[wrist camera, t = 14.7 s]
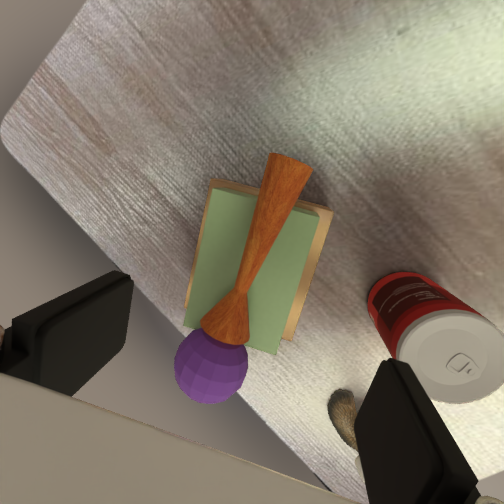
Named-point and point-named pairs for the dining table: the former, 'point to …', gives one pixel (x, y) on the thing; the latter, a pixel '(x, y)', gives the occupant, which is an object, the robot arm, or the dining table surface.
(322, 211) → the maple block
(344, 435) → the eagle figurine
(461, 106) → the dining table surface
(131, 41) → the dining table surface
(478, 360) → the canned food
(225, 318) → the purple wooden maraca
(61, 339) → the robot arm
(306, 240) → the sage block
